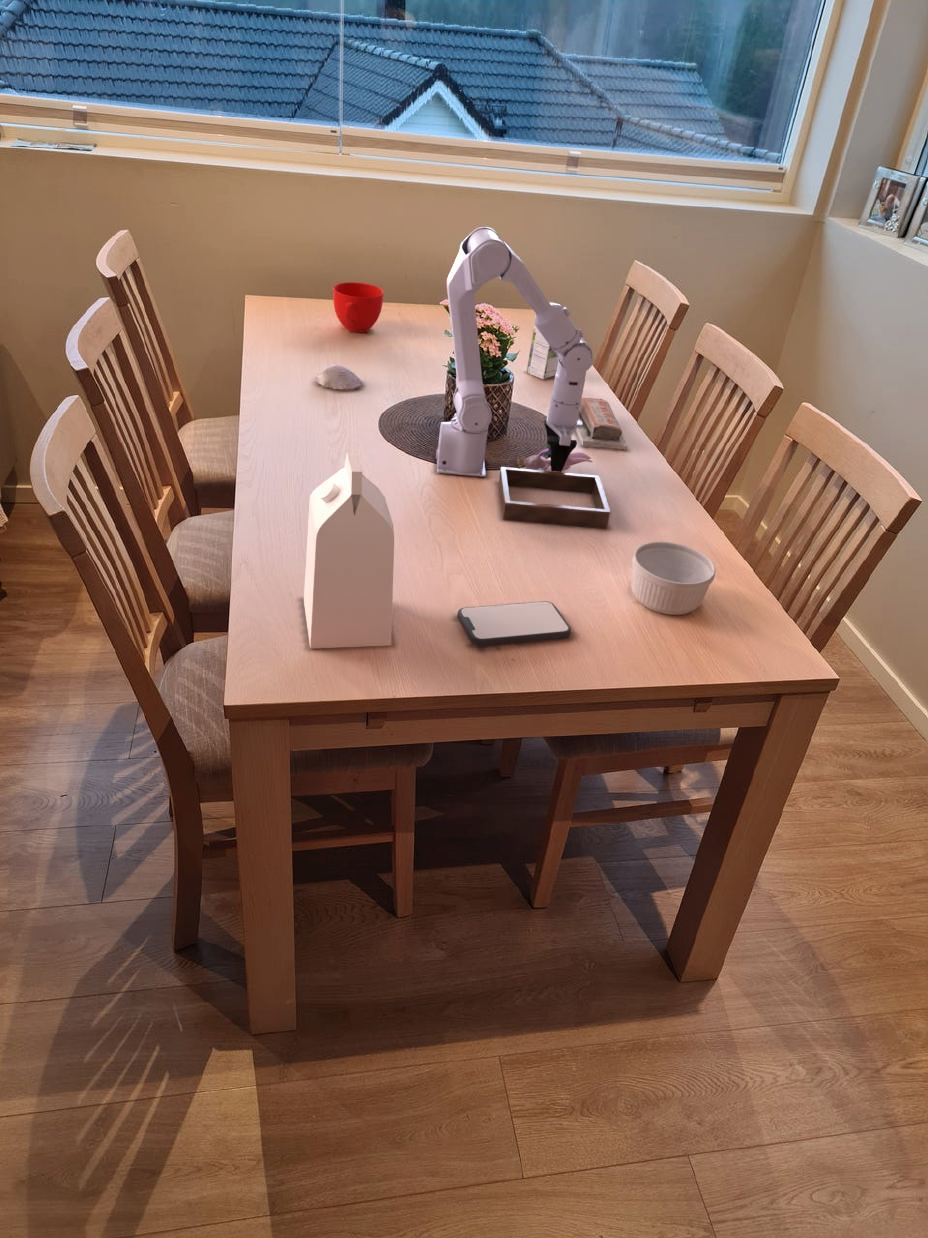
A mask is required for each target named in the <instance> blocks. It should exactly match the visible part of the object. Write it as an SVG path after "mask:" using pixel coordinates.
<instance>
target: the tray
mask: <svg viewBox="0 0 928 1238" xmlns="http://www.w3.org/2000/svg"><path fill="white" fill-rule="evenodd" d="M509 487H514V488H515V487H517V488H527V489H539V490H549V491H550V490H551V491H560V492H571V493H572V492H573V493H582V494H591V495H592V498H593V502H594V505H595V508H594V507H583V506H572V505H561V504H549V503H539V502H538V503H537V502H528V501H513V500H511V497H510V490H509ZM498 490H499V499H500V506H501V514H502V515H501V516H502V520H504V521H513V522H524V523H537V524H546V525H547V524H549V525H557V526H559V525H560V526H571V527H581V528H583V527H584V528H595V529H605V530H606V529H607V528H608V523H609V519H610V515H611V513H612V512H611V508H610V505H609V502H608V500H607V496H606V493H605V490H604V486H603V483H602V480H601V477H600V476H599V475H595V474H584V473H573V472H563V471H561V472H556V471H551V470H543V469H542V470H540V469H537V470H531V469H526V468H521V469H520V468H519V467H509V466H500V469H499V478H498Z"/></svg>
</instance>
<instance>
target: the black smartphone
mask: <svg viewBox="0 0 928 1238" xmlns="http://www.w3.org/2000/svg"><path fill="white" fill-rule="evenodd" d="M456 618H457V621H458V622H459V624H460V626H461V627H462V630H463V631H464V633H465V635H466V637H467V639H468V641H469V642H470V643H471V645H472V646H475V647H477V648H485V647H494V646H495V647H496V646H507V645H517V644H525V643H537V642H546V641H547V642H548V641H555V640H556V641H558V640H566V639H569V637H570V636H571V632H572V628H571V626H570V625H569V623H568V622H567V621H566V619H565V618H564V616H563V615H562V613H561V612H560V611H559V610H558V608H557V606H556V605H555V604H554V602H551V601H548V600H540V601H528V602H515V603H505V604H503V603H502V604H493V605H491V604H490V605H480V606H468V607H467V606H466V607H461V608H459V609H458V610H457V615H456Z"/></svg>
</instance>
